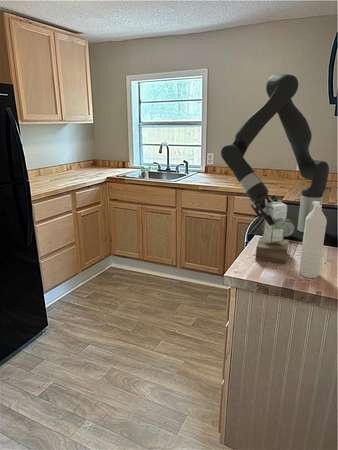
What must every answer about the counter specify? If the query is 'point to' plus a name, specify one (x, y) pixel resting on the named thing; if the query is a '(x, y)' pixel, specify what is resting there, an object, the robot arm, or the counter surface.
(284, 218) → the syrup box
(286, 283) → the counter surface
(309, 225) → the water bottle
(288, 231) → the tin
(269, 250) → the walnut block
